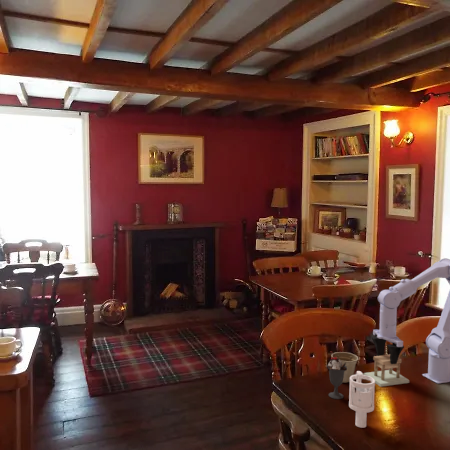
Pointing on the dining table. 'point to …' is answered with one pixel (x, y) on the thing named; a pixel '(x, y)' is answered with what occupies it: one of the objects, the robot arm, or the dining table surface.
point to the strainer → (361, 397)
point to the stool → (386, 365)
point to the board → (387, 378)
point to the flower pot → (347, 363)
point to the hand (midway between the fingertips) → (386, 359)
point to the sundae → (336, 376)
